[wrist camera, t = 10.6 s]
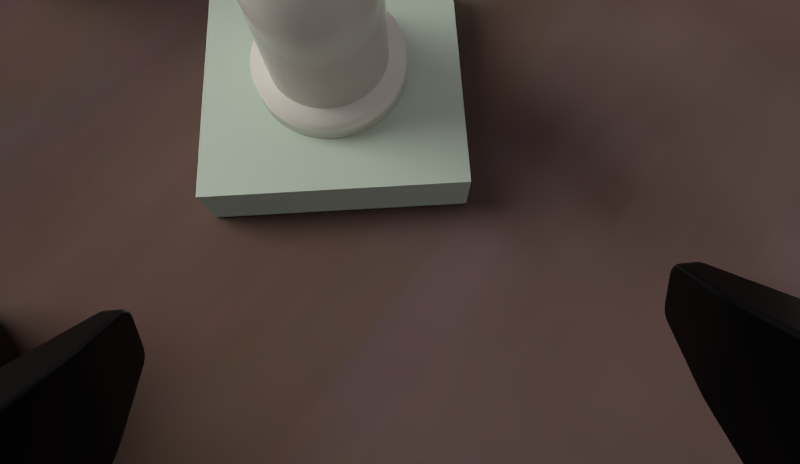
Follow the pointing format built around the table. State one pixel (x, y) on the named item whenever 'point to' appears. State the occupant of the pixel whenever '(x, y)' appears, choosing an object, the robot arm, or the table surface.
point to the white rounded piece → (326, 63)
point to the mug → (6, 349)
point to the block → (340, 157)
